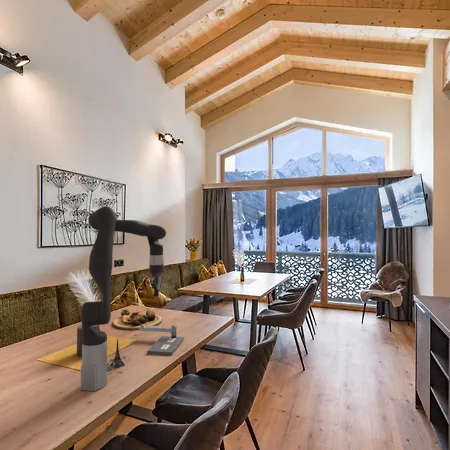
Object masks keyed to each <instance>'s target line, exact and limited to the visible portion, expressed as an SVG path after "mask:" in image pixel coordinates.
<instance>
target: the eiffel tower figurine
mask: <svg viewBox="0 0 450 450" xmlns="http://www.w3.org/2000/svg"><path fill="white" fill-rule="evenodd" d="M118 338H119V337H117V339H116V350H115V354H114V355H115V356H114V358H110V359H109V361H107V373H108V372H111V371H113V369H114V370H117V369H119V368H123V367H125V366H126V364H125V363H124V361H123V360H122V358H121V356H120V351H119V347H120V346H119V340H118ZM118 373H119V374H120V373H121V374H122V373H123V372H122V371H119V372H118V371H117V372H116V374H118Z"/></svg>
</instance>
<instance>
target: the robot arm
mask: <svg viewBox="0 0 450 450" xmlns="http://www.w3.org/2000/svg"><path fill="white" fill-rule="evenodd" d="M87 222H88V224H89V226H90V227H91V228H92V229H94V230H95V231H97V234H96V238H95V240H94V243H93V244H92V248H91V250H90V253H89V254H90V255H89V262H88V271H89V274H90V277H92V279H93V281H94V282H95V283H96V285H97V287H98V288H99V290H100V293H101V296H102V300H100V301H96V300H95V301H87V302H84V303H82V306H81V309H80V311H81V312H80V317H81V318H80V319H81V325H82V357H81V365H80V391H87V392H96V391H97V390H100V389H102V388H104V387H106V386H107V384H108V374H107V373H108V372H107V363H108V335H107V333H106V332H105V331H103V330H96V329H95V328H93V327H92V325H98V326H101V325H108V324H109V323H110V320H111V317H112V296H111V295H112V292H111V291H112V290H111V288H112V287H111V285H112V272H113V253H114V252H113V249H114V234H115V232H118V233H126V234H132V235H134V236H136V235H137V236H139V237H147V238H146V239H147V242H148V246H149V260H148V261H149V263H148V264H149V265H148V266H149V267H148V271H149V273H150V274H151V280H149V283H150V288H151V289H153V297H159V296H160V288H161V286H162V283H163V282H162V281H163V277H162V273H164V272H165V269H164V265H165V263H164V261H165V260H164V245H163V244H162V243H160V241H159V240H163V239H164V238H165V237H166V236H167V231H166V229H165V228H164V226H162V225H157V224H153V223H152V224H151V223H146V222H144V221H140V220H134V219H117V216H116V213H115V210H114V209H113V208H112V207H110V206H107V205H105V206H101V207H100V208H98V209H96V210H95V211H93V212H92V213H91V214H90V215H89V216H88V221H87Z"/></svg>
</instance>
